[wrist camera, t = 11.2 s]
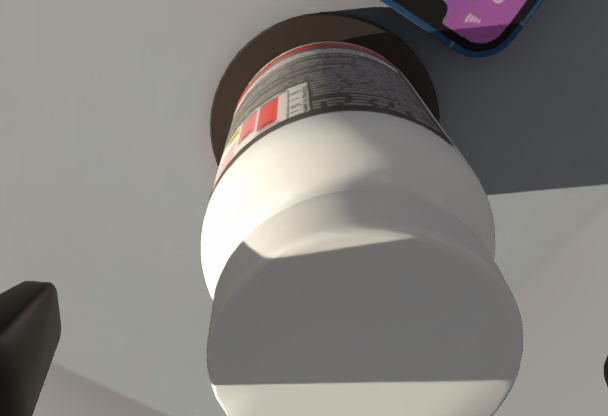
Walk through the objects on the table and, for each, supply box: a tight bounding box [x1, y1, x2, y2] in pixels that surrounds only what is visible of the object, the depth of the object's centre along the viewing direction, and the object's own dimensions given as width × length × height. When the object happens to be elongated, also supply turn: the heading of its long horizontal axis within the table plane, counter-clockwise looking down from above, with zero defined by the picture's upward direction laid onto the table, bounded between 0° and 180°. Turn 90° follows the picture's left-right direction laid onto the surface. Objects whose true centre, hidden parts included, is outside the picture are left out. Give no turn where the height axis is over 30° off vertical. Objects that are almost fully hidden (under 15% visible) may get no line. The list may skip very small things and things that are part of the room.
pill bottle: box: [201, 41, 523, 416], centre depth 12 cm, size 6×6×10 cm
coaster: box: [210, 13, 439, 167], centre depth 17 cm, size 7×7×1 cm
